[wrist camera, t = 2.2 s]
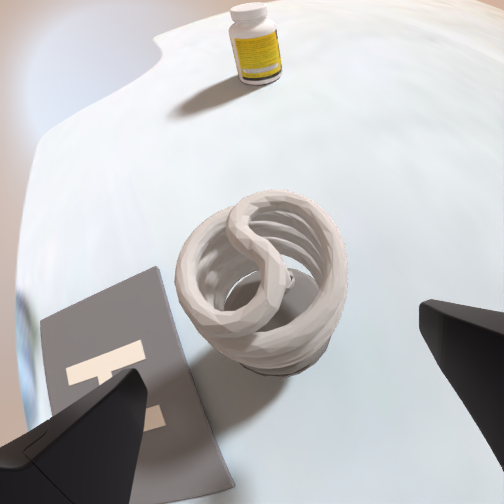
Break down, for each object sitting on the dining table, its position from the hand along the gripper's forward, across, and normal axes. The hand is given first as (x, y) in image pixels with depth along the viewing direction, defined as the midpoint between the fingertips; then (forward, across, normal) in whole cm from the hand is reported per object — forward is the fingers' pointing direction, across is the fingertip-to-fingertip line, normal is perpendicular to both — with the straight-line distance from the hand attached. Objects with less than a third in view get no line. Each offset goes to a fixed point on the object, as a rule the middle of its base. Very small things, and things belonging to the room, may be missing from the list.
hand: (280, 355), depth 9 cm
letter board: (+8, +12, +6) cm, 16 cm away
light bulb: (+9, 0, +5) cm, 11 cm away
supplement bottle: (+31, -5, -16) cm, 36 cm away
